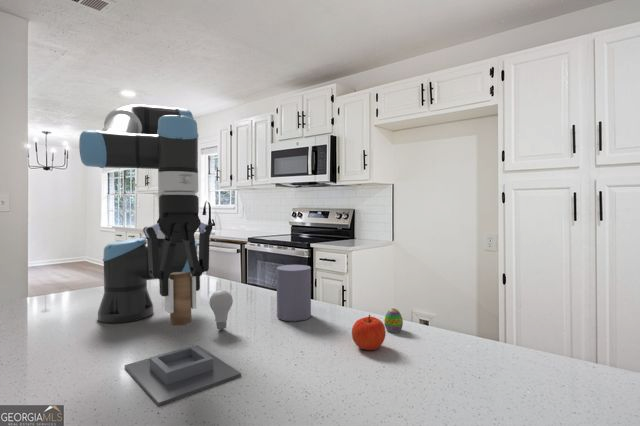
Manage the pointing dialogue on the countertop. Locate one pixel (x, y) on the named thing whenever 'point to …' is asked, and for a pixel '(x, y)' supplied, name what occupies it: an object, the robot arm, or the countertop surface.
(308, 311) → the container
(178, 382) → the socket
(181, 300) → the peg
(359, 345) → the apple
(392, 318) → the egg
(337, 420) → the countertop surface
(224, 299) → the lightbulb
